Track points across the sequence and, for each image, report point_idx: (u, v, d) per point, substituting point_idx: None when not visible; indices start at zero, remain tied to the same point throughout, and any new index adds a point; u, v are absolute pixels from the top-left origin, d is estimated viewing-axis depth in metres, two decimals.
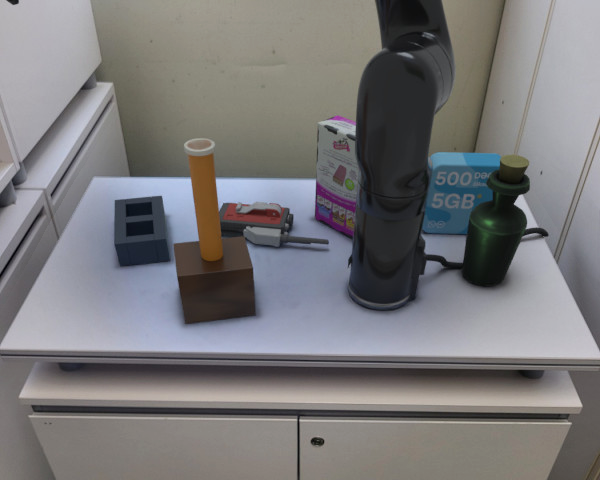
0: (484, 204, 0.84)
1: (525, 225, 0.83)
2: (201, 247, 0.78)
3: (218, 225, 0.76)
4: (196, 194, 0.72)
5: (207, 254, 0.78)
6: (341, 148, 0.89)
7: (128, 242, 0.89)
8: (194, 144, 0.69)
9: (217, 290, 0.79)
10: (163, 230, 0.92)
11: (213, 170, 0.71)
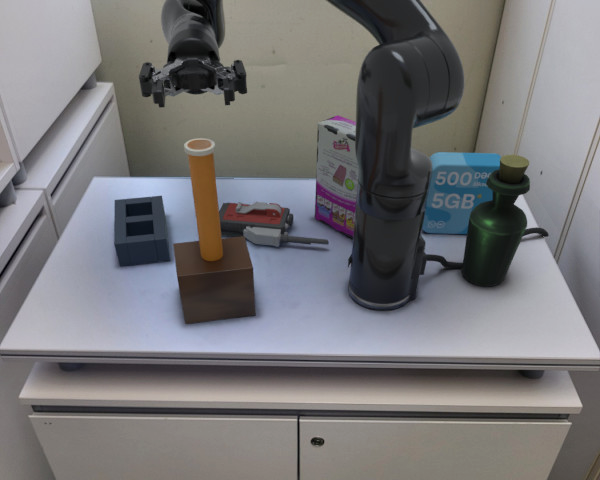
0: (484, 204, 0.84)
1: (525, 225, 0.83)
2: (201, 247, 0.78)
3: (218, 225, 0.76)
4: (196, 194, 0.72)
5: (207, 254, 0.78)
6: (341, 148, 0.89)
7: (128, 242, 0.89)
8: (194, 144, 0.69)
9: (217, 290, 0.79)
10: (163, 230, 0.92)
11: (213, 170, 0.71)
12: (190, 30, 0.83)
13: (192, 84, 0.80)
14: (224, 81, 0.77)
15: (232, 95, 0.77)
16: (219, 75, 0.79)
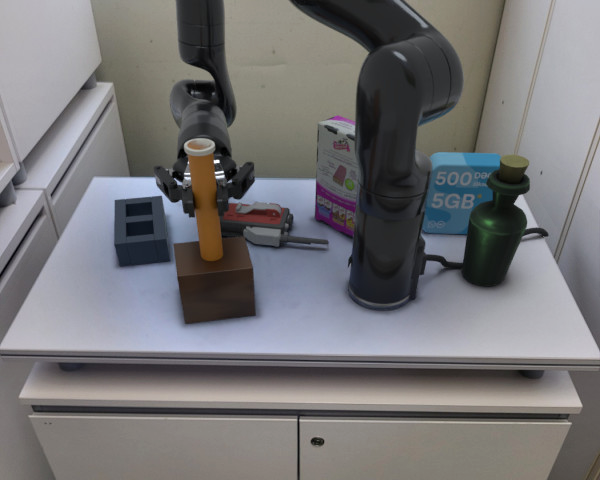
0: (484, 204, 0.84)
1: (525, 225, 0.83)
2: (201, 247, 0.78)
3: (218, 225, 0.76)
4: (196, 194, 0.72)
5: (207, 254, 0.78)
6: (341, 148, 0.89)
7: (128, 242, 0.89)
8: (194, 144, 0.69)
9: (217, 290, 0.79)
10: (163, 230, 0.92)
11: (213, 170, 0.71)
12: (201, 125, 0.80)
13: None
14: (217, 190, 0.73)
15: (226, 206, 0.72)
16: (216, 180, 0.75)
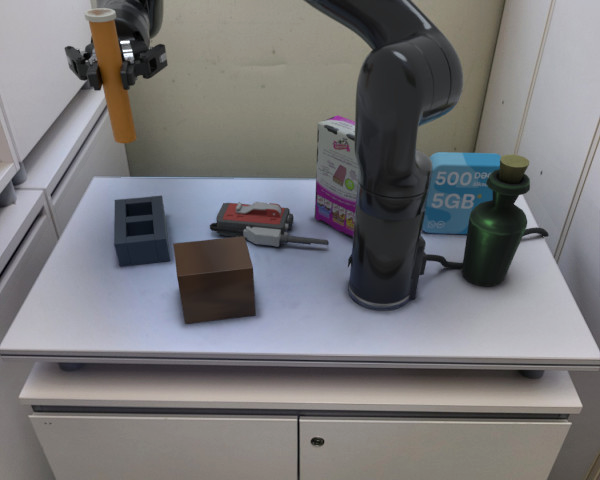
0: (484, 204, 0.84)
1: (525, 225, 0.83)
2: (112, 128, 0.79)
3: (127, 103, 0.77)
4: (101, 67, 0.73)
5: (119, 136, 0.79)
6: (341, 148, 0.89)
7: (128, 242, 0.89)
8: (94, 11, 0.70)
9: (217, 290, 0.79)
10: (163, 230, 0.92)
11: (116, 41, 0.72)
12: (115, 10, 0.81)
13: None
14: (123, 64, 0.74)
15: (131, 79, 0.73)
16: (124, 57, 0.76)
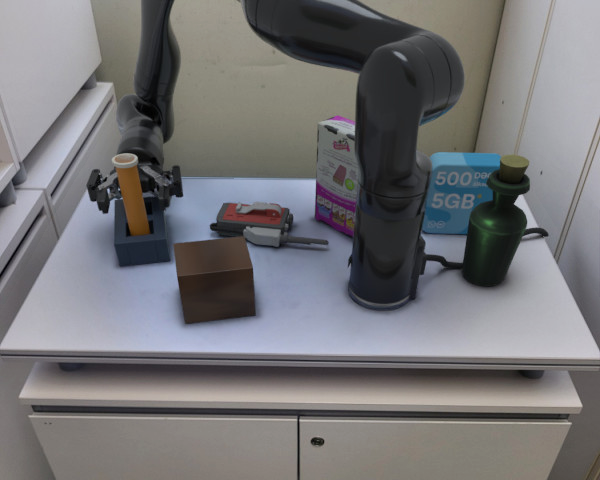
0: (484, 204, 0.84)
1: (525, 225, 0.83)
2: None
3: (146, 225, 0.91)
4: (124, 199, 0.87)
5: None
6: (341, 148, 0.89)
7: (128, 242, 0.89)
8: (120, 158, 0.84)
9: (217, 290, 0.79)
10: (163, 230, 0.92)
11: (137, 179, 0.86)
12: (135, 138, 0.95)
13: None
14: (160, 190, 0.89)
15: (167, 202, 0.88)
16: (157, 183, 0.90)
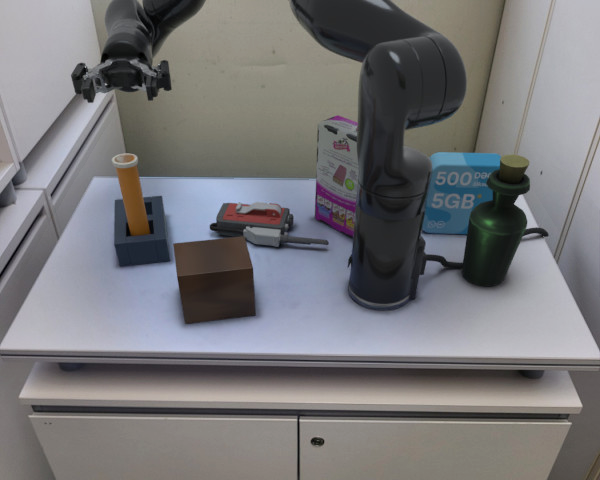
0: (484, 204, 0.84)
1: (525, 225, 0.83)
2: None
3: (146, 225, 0.91)
4: (124, 199, 0.87)
5: None
6: (341, 148, 0.89)
7: (128, 242, 0.89)
8: (120, 158, 0.84)
9: (217, 290, 0.79)
10: (163, 230, 0.92)
11: (137, 179, 0.86)
12: (122, 34, 0.92)
13: (121, 82, 0.89)
14: (147, 79, 0.85)
15: (154, 91, 0.85)
16: (144, 74, 0.87)
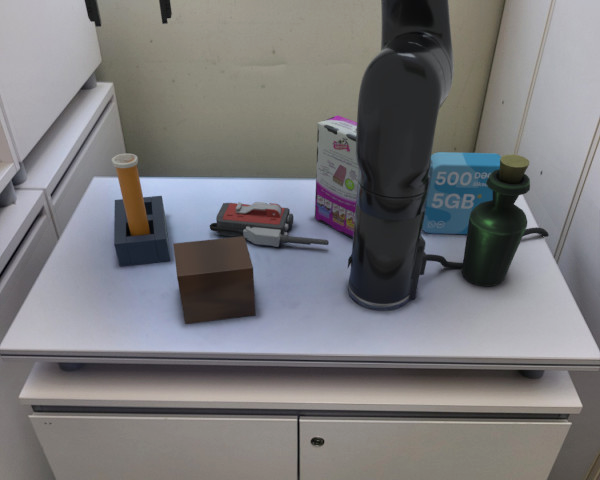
0: (484, 204, 0.84)
1: (525, 225, 0.83)
2: None
3: (146, 225, 0.91)
4: (124, 199, 0.87)
5: None
6: (341, 148, 0.89)
7: (128, 242, 0.89)
8: (120, 158, 0.84)
9: (217, 290, 0.79)
10: (163, 230, 0.92)
11: (137, 179, 0.86)
12: None
13: None
14: (160, 1, 0.76)
15: None
16: None
